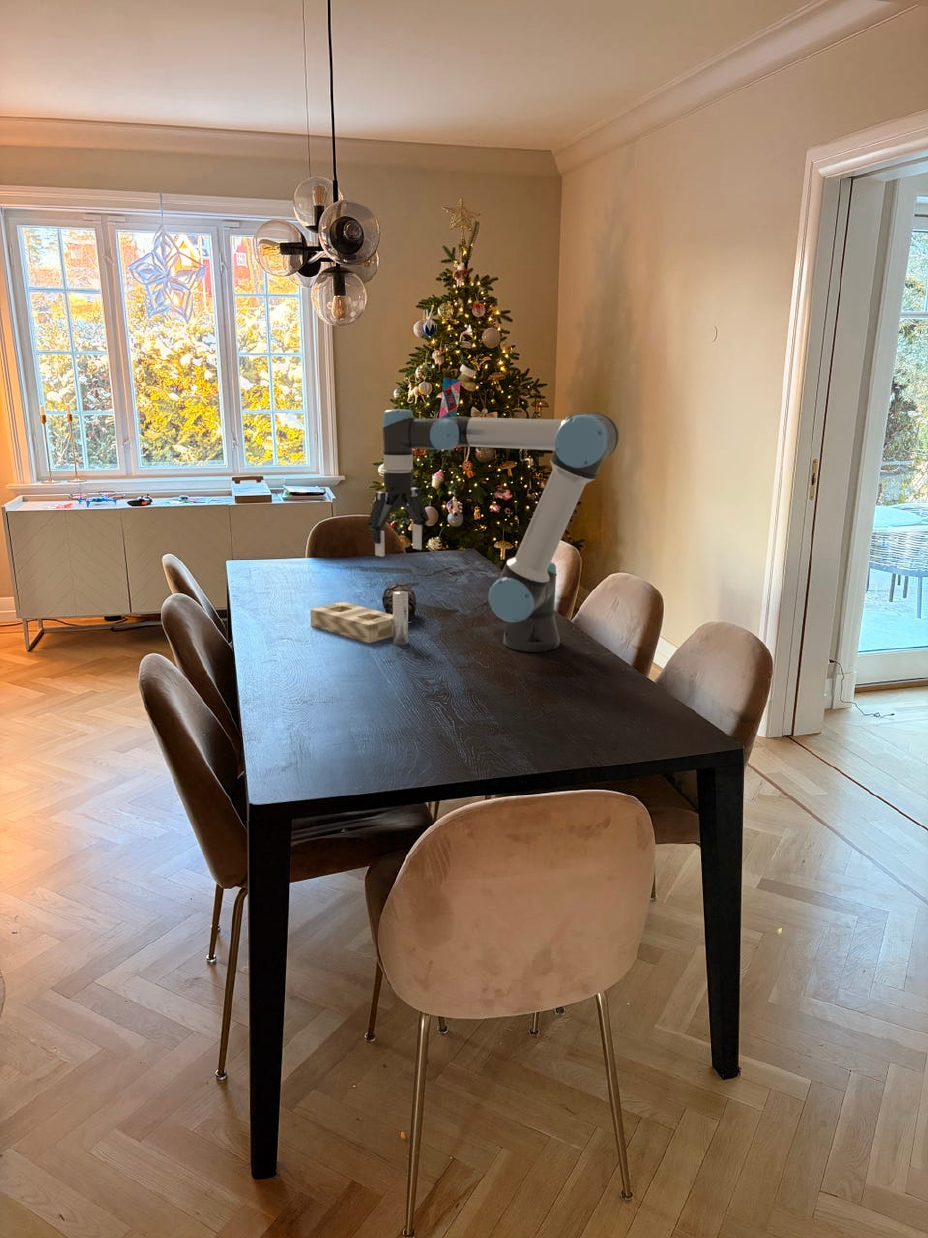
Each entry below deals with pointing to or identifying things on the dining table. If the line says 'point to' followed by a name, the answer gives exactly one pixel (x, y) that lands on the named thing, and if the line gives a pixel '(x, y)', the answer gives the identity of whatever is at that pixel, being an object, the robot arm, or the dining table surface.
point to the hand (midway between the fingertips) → (398, 552)
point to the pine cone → (388, 599)
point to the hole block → (353, 621)
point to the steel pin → (400, 617)
